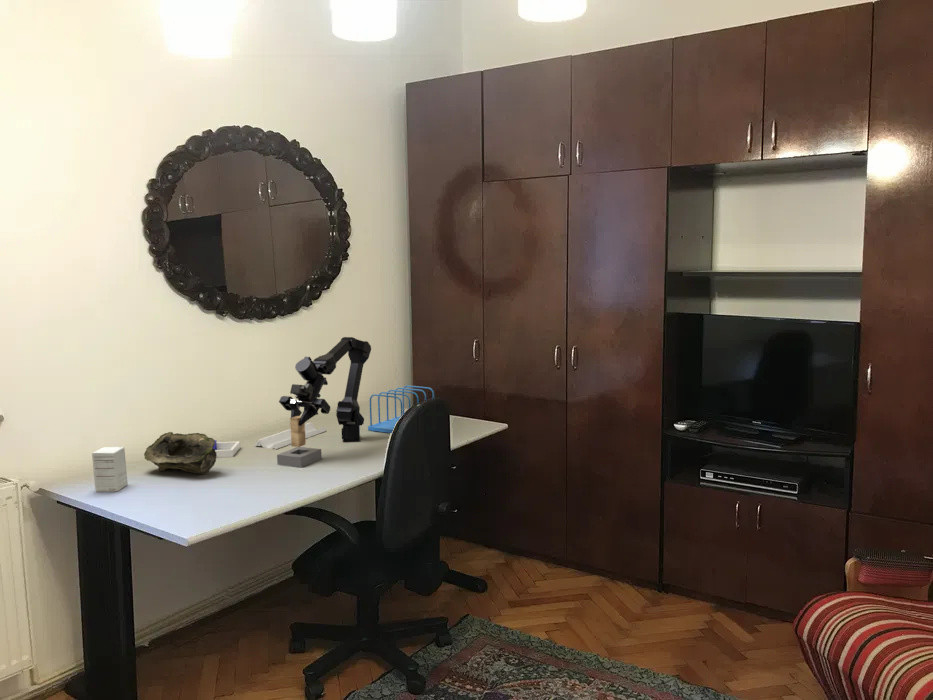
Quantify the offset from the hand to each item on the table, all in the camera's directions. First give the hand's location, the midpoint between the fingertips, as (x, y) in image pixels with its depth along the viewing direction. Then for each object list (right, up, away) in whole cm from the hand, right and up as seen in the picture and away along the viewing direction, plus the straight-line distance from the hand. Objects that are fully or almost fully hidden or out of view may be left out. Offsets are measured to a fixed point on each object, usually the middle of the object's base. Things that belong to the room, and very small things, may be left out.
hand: (295, 424), depth 276 cm
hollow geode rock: (-36, -16, -7) cm, 40 cm away
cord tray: (-32, -12, +18) cm, 39 cm away
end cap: (+1, -13, +3) cm, 13 cm away
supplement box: (-53, -18, -23) cm, 61 cm away
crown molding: (-10, -10, +38) cm, 40 cm away
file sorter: (+33, -6, +54) cm, 64 cm away
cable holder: (-35, -12, +18) cm, 41 cm away
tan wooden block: (+1, -7, +2) cm, 8 cm away
